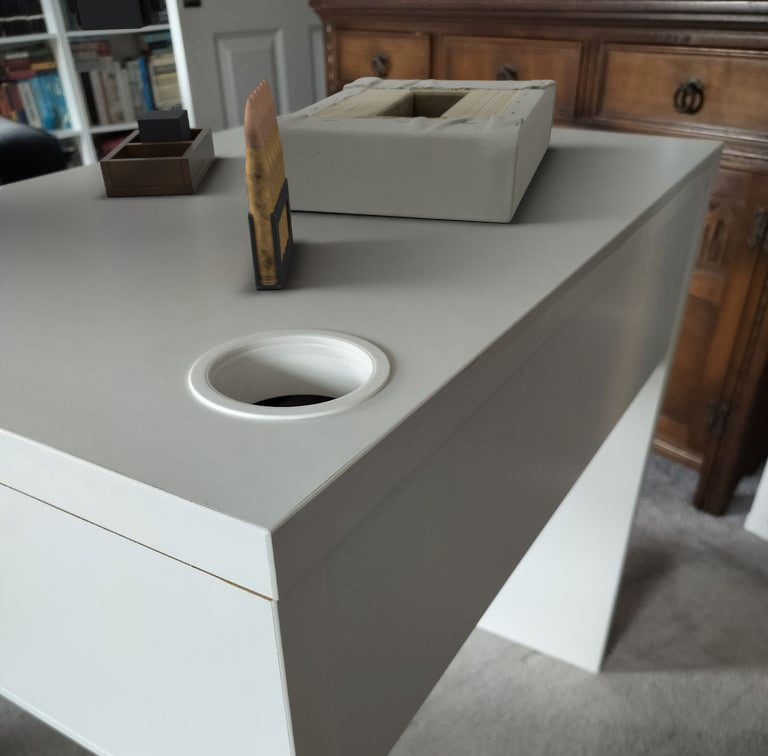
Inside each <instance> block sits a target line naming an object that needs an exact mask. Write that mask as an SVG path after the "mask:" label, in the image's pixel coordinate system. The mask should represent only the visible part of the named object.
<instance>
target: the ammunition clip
mask: <svg viewBox="0 0 768 756" xmlns="http://www.w3.org/2000/svg"><path fill="white" fill-rule="evenodd" d="M276 109H277V108H276V104H275V100H274V95H273V92H272V88H271V86H270V83H269V81H268V79H266V78H263V79H262V80H261V81H260V82H259V84H258V85H257V86H256V88H255V89H254V90H253V92H252V93H250V96H249V97H248V98H247V100H246V104H245V109H244V121H243V122H244V124H243V125H244V127H243V128H244V130H243V131H244V144H245V161H246V162H245V181H246V188H247V198H248V206H249V211H248V214H247V221H248V222H247V223H248V229H249V239H250V247H251V248H250V249H251V257H252V267H253V275H254V282H255V290H256V291H259V290H260V291H261V290H283V288H284V285H285V280H286V276H287V272H288V268H289V263H290V259H291V257H292V256H291V255H292V251H293V248H294V236H293V235H294V234H293V225H292V224H293V223H292V214H291V213H292V212H291V210H290V201H289V190H288V179H287V178H285V170H284V160H283V149H282V143H281V139H280V135H279V130H278V122H277V117H278V116H277V110H276Z"/></svg>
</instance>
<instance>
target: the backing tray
mask: <svg viewBox="0 0 768 756" xmlns="http://www.w3.org/2000/svg"><path fill="white" fill-rule="evenodd" d="M190 131H191V137H192V141H179V142H151V143H141V139H140V134H139V129H135V130H134V131H132V132H131V134H129V135H128V136H127V137H125V139H124V140H122V141H121V142H119V144H118V145H116V146H115V147H114V148H113V149H112V150H111V151H110V152H108V154H106V155H105V156H104V157H103V158H102V159H101V160H100V161H99V165H100V171H101V174H102V180H103V185H104V187H105V194H106V197H107V198H111V197H112V198H117V197H140V196H141V197H143V196H169V195H170V196H171V195H193V194H195V192H196V191H197V189H198V187H199V186H200V184H201V182H202V180H203V179H204V178H205V176H206V174H207V172H208V171H209V169H210V167H211V166H212V164H213V163H214V161H215V159H216V154H215V146H214V139H213V131H212V127H211V126H207V127H206V126H205V127H190Z"/></svg>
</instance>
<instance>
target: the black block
mask: <svg viewBox="0 0 768 756" xmlns="http://www.w3.org/2000/svg"><path fill="white" fill-rule="evenodd" d="M77 4H78V8H79V13H80V18H81V23H82V30H83V31H108V30H109V31H111V30H140V29H143V28H146V27H148V26H150V25H146V24H145V23H144V22H143V18H142V12H141V7H140V1H139V0H77Z"/></svg>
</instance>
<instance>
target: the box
mask: <svg viewBox="0 0 768 756" xmlns="http://www.w3.org/2000/svg"><path fill="white" fill-rule="evenodd" d="M557 88H558V82H557V81H556V80H553V79H531V80H473V79H472V80H461V79H460V80H459V79H458V80H457V79H455V80H453V79H434V78H433V79H432V78H430V79H418V78H417V79H416V78H415V79H383V78H381V77H378V76H365V77H360V78H357V79H356V80H354V81H352V82H350V83H346V84H344V85H343V87H342V90H340V91H338V92H337V93H334V94H332V95H330V96H328V97H326V98H324V99H322V100H320V101H317V102H315V103H313V104H311V105H308V106H306V107H305V108H304V107H303V108H302V109H300V110H298V111H295V112H294V113H291V114H282V115H279V116H276V117H277V122H278V130H279V135H280V139H281V143H282V149H283V160H284V170H285V178H287V179H288V190H289V201H290V211H301V212H302V211H305V212H320V213H336V214H351V215H352V214H353V215H369V216H373V215H374V216H385V217H403V218H404V217H405V218H421V219H437V220H453V221H454V220H455V221H466V222H467V221H468V222H487V223H511V221H512V219H513V217H514V215H515V213H516V212H517V209H518V207H519V205H520V202H521V201H522V199H523V197H524V195H525V193H526V191H527V189H528V187H529V185H530V184H531V181H532V179H533V177H534V176H535V173H536V172H537V170H538V167H539V166H540V163H541V162H542V160H543V159H544V156H545V154H546V152H547V150H548V148H549V146H550V142H551V136H552V130H553V129H552V128H553V123H554V117H555V116H554V115H555V108H556V98H557Z"/></svg>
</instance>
